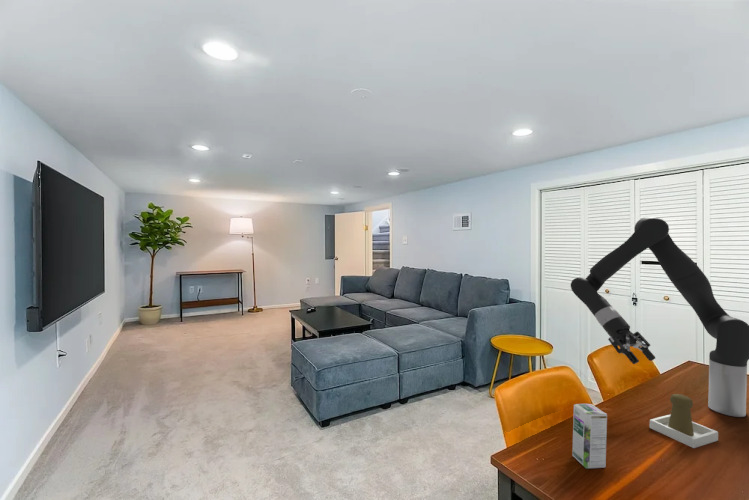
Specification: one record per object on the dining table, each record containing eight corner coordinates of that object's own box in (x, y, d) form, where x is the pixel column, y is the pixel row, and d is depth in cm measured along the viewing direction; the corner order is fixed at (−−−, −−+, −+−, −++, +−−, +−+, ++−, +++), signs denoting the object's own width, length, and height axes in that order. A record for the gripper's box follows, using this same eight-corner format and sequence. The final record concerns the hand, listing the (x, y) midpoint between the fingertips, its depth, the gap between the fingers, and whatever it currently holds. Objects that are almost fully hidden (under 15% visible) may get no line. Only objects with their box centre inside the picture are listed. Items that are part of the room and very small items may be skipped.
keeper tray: (672, 421, 113) (673, 413, 113) (717, 440, 102) (718, 431, 102) (649, 427, 109) (649, 419, 109) (693, 448, 98) (694, 439, 98)
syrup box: (571, 455, 94) (572, 403, 94) (591, 454, 95) (592, 402, 95) (585, 469, 89) (586, 414, 88) (607, 468, 89) (608, 413, 89)
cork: (699, 437, 102) (700, 401, 102) (675, 434, 104) (676, 399, 104) (685, 426, 108) (686, 392, 108) (663, 424, 110) (664, 390, 109)
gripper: (605, 317, 124) (639, 358, 113) (631, 314, 129) (666, 353, 118) (591, 328, 129) (622, 369, 118) (617, 325, 134) (650, 363, 123)
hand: (644, 361), depth 118 cm, fingers open, 8 cm apart
